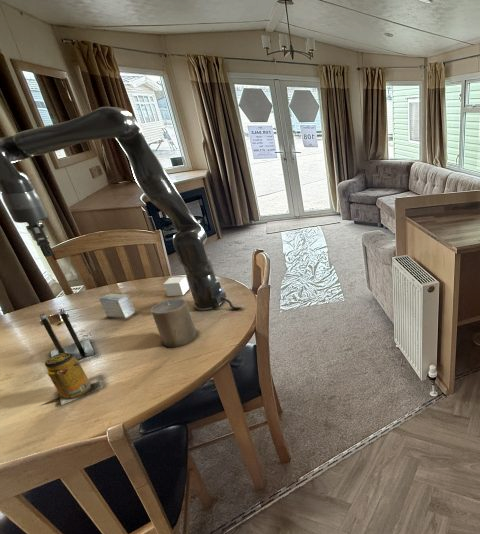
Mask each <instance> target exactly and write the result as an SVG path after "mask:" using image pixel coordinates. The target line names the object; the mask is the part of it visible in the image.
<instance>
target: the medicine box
mask: <svg viewBox="0 0 480 534" xmlns="http://www.w3.org/2000/svg"><path fill="white" fill-rule="evenodd" d="M99 302H100V304H101V307H102V309H103V310H104V313H105V315H106V317H107V318H108V317H109V318H110V317H111V318H122V319H127V318H128V317H130V316H132V315H133V314H135V313H137V311H136V309H135V307H134V304H133V302H132V300H131V298H130V295H128V294H121V293H120V294H119V293H108V294H107V295H104V296H103V297H101V298H99Z"/></svg>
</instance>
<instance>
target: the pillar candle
mask: <svg viewBox="0 0 480 534" xmlns="http://www.w3.org/2000/svg"><path fill="white" fill-rule="evenodd" d="M150 313H151V315H152V317H153V320H154V323H155V325H156V329H157V330H158V333H159V335H160V338H161V341H162V343H163V345H164V346H165V347H168V348H176V347H180V346H184V345H187V344H189V343H191V342H193V341H194V340H195V339H196V338H197V337H198V333H197V330H196V327H195V324H194V321H193V318H192V315H191V312H190V309H189V306H188V304H187V301H186V300H185V299H184V298H170V299H166V300H162V301H160V302H158V303H155V305H153V306H152V307H150Z"/></svg>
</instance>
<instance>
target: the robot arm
mask: <svg viewBox="0 0 480 534" xmlns="http://www.w3.org/2000/svg"><path fill="white" fill-rule="evenodd" d="M104 139H115V140H116V141H117V143H119V145H120V147H121V148H122V150H123V151H124V153H125V154H126V156H127V158H128V160H129V164H130V167H131V171H132V174H133V177H134V179H135V182H136V183H137V185H138V186H139V188H140V189H141V191H142V192H143V194H144V195H145V197H146V199H148V200H149V201H150V202H151V204H153V205H154V206H155V207H156V208H157V209H159V210H160V211H161V212H162V213H164V214H165V215H166V216H167V218H168V219H169V220H170V221H171V224H172V225H173V226H174V228H175V230H176V233H175V234H174V235H173V238H172V244H173V248H174V251H175V253H176V256H177V257H176V258H177V259H178V261H179V264H180V265H181V266H182V268H183V271H184V274H185V277H186V280H187V283H188V287H189V290H190V293H191V296H192V300H193V305H194V306H195V307H194V308H195V309H196V310H198V311H209V310H216V309H217V308H219V307H220V306H221V305H222V304H223V303H224V302H227V303H228V304H229V306H230V308H231V309H233V310H242V309H243V307H241V306H236V307H235V306H234V305H233V303H232V301H231V300H229V299H227V293H226V291H223V290H222V286H221V283H220V281H217V277H216V273H215V270H214V266H213V263H212V258H210V257H209V256H208V255H207V252H206V249H205V244H206V243H207V241H208V235H207V232H206V231H205V229H204V228H203V227H202V225H201V224H200V223H199V221H198V220H197V219H196V217H195V216H194V215H193V214H192V212H191V211H190V210H189V208H188V206H187V204H186V202H185V201H184V198H182V196H181V194H180V192H179V191H178V189H177V188H176V185H175V183H174V182H173V181H172V179H171V177H170V176H169V174H168V173H167V171H166V170H165V169H164V167H163V165H162V163H161V162H160V160H159V159H158V157H157V156H156V154H155V153H154V152H153V150H152V148H151V146H150V145H149V143H148V140H147V139H146V136H145V135H144V133H143V130H142V129H141V126H140V124H139V121H137V119H136V117H135V116H134V115H133V114H132V113H131V112H129V111H128V110H126V109H124V108H122V107H119V106H100V107H98V108H97V109H94V110H92V111H90V112H87V113H85V114H83V115H81V116H79V117H76V118H73V119H70V120H66V121H62V122H59V123H54V124H53V123H52V124H49V125H44V126H39V127H35V128H31V129H26V130H22V131H20V132H16V133H15V134H13V135H9V136H4V137H0V195H1V198H2V200H3V203H4V205H5V206H6V209H7V210H8V213H9V214H10V217H11V219H12V220H13V222H15V223H19V224H24V223H26V224H27V225H25V228H26V230H27V232H28V234H29V235H30V236H31V238H32V240H33V241H35V242H36V245H37V246H38V248H39V249H40V251H41V252H42V255H43V256H44V257H46V258H47V257H52V256H54V255H55V254H54V251H53V249H52V247H51V245H50V244H51V243H50V241H49V240H48V239H49V238H50V237H49V235H48V233H47V229H46V227H45V223H41V222H40V221H44V220H47V219H48V218H49V215H48V213H47V210H46V209H45V207H44V204H43V202H42V200H41V197H40V196H39V194H38V193H37V191H36V190H35V187H34V185H33V183H32V180H31V179H30V177H29V175H28V174H26V173H25V172H23V171H18V170H17V168H16V167H15V166H14V164H13V163H16V162H17V163H18V162H20V161H25V160H27V159H31V158H33V157H36V156H42V155H46V154H50V153H55V152H58V151H61V150H65V149H68V148H70V147H73V146H75V145H77V144H82V143H84V142H89V141H94V140H104Z"/></svg>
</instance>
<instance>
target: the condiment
mask: <svg viewBox="0 0 480 534" xmlns="http://www.w3.org/2000/svg"><path fill="white" fill-rule="evenodd" d="M44 366H45V367H46V369H47V372H46V373H47V375H48V376H49V378H50V380H51V382H52V384H53V386H54V387H55V389H56V390H57V392H58V394H59V395H60V396H59V401H60V405H61V406H63V405H65V404H68V403H70V402H73V401H75V400H78V399H80V398H82V397H85V396H87V395H89V394H91V393H94V392H96V391H98V390H101V389H103V388H104V385H103V383H102V380H98V381H95V382H94V383H93V382H92V383H91V382H90V380H89V378H88V375H87V374H86V372H85V371H84V369H83V367H82V365H81V363H80V360H75V357H73V354H72V353H61V354H57V355H55V356H50V357H49V358H47V359H46V360H45V362H44Z"/></svg>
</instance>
